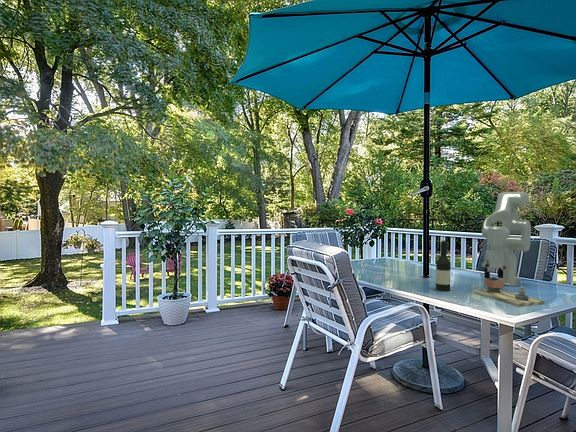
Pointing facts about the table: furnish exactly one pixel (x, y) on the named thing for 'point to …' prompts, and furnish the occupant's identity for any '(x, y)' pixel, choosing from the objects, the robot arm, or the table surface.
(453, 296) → the table surface
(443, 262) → the wine bottle
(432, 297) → the table surface
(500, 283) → the collar
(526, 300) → the board
